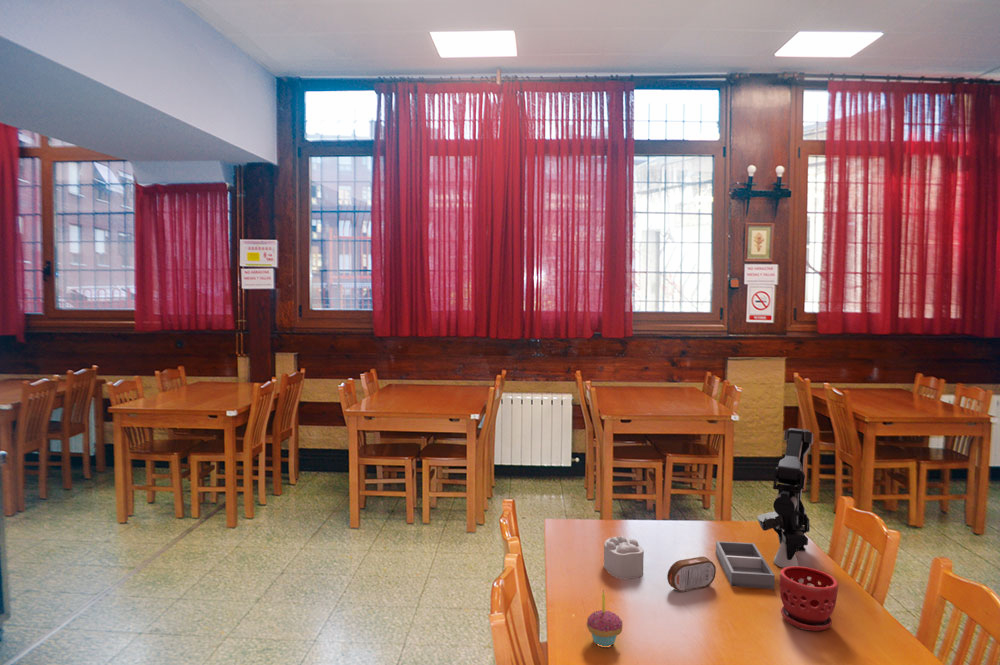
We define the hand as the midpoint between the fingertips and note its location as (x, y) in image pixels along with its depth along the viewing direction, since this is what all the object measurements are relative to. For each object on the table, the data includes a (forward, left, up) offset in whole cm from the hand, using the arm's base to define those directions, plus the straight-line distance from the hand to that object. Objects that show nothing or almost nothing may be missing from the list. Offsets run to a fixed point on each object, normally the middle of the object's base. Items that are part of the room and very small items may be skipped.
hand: (786, 555), depth 191 cm
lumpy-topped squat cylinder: (+50, +10, -3) cm, 51 cm away
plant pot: (+5, +34, -3) cm, 34 cm away
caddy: (+14, +6, -3) cm, 15 cm away
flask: (0, 0, -3) cm, 3 cm away
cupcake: (+56, +51, -3) cm, 76 cm away
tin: (+31, +20, -3) cm, 37 cm away
